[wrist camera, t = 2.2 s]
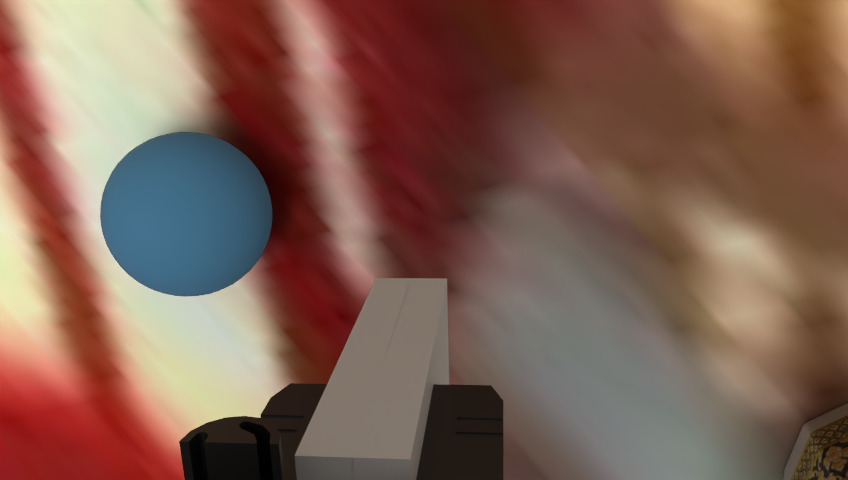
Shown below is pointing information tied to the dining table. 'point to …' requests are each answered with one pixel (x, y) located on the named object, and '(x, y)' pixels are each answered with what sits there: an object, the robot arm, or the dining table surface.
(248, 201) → the ball
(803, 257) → the dining table surface
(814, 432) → the ceramic cup
